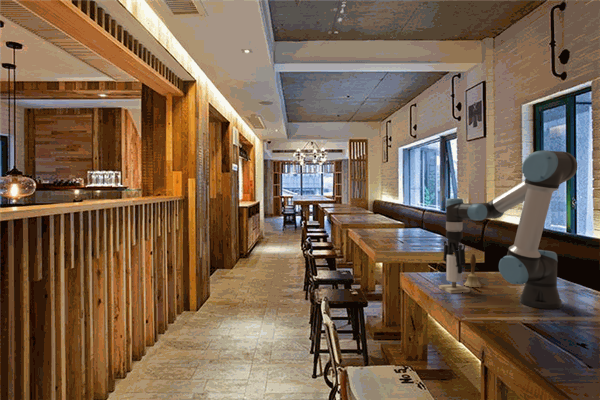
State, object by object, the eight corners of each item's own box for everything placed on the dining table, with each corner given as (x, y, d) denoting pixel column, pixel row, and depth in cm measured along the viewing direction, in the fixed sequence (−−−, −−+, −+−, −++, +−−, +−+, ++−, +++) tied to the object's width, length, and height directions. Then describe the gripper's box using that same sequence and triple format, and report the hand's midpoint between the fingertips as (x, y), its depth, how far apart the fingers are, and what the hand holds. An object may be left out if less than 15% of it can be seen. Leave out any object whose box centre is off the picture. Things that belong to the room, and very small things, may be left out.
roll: (464, 281, 195) (464, 256, 195) (451, 282, 194) (452, 257, 193) (455, 278, 202) (455, 254, 201) (443, 279, 200) (444, 254, 200)
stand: (469, 291, 194) (469, 269, 194) (451, 293, 192) (451, 271, 191) (456, 286, 204) (456, 265, 203) (438, 288, 201) (438, 267, 201)
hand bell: (478, 283, 210) (478, 252, 209) (483, 288, 201) (484, 255, 201) (461, 283, 210) (461, 252, 210) (466, 287, 202) (466, 255, 202)
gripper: (474, 232, 188) (473, 282, 189) (449, 228, 207) (448, 273, 208) (460, 233, 186) (459, 283, 187) (435, 228, 205) (435, 274, 206)
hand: (453, 278), depth 198 cm, fingers closed on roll, 7 cm apart
